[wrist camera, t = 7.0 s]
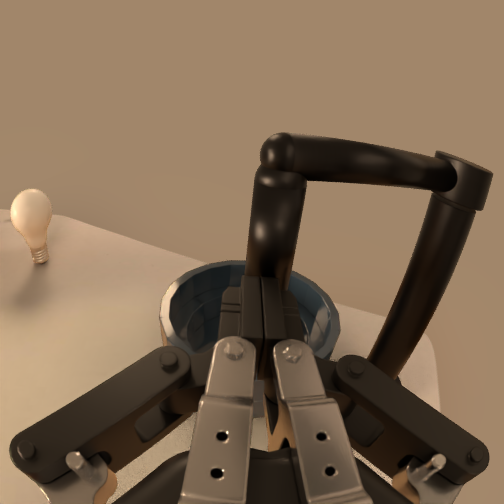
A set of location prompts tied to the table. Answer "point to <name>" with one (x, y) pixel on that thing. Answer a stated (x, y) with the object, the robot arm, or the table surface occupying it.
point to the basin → (209, 307)
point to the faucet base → (422, 283)
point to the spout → (339, 170)
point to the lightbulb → (33, 221)
